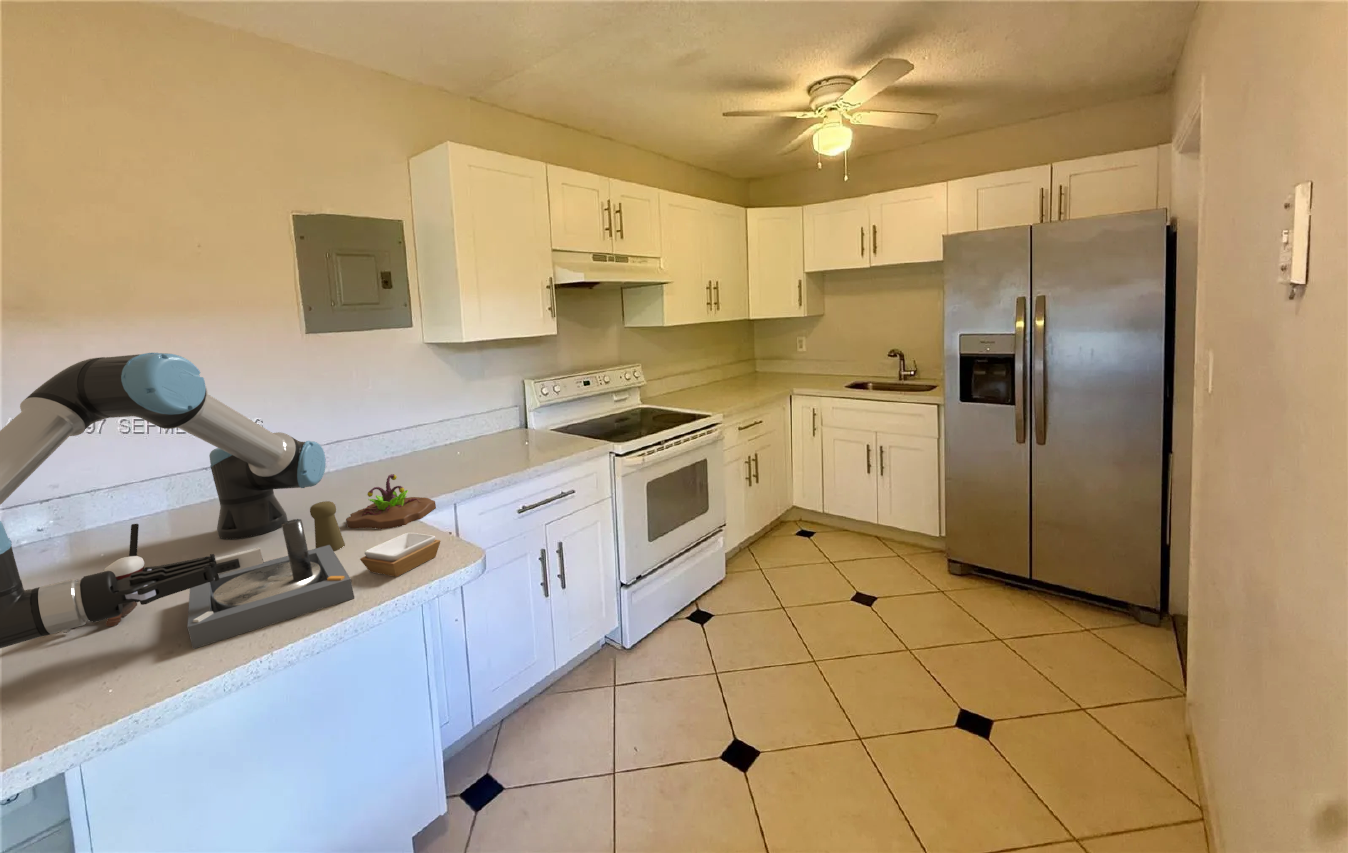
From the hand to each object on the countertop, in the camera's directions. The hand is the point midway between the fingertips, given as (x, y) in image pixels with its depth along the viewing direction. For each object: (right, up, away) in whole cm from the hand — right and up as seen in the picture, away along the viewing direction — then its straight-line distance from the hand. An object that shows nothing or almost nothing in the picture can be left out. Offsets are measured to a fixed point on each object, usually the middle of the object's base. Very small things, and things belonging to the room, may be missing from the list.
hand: (261, 555), depth 110 cm
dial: (-2, -8, +5) cm, 9 cm away
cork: (-5, -5, +30) cm, 31 cm away
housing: (-2, -9, +6) cm, 11 cm away
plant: (+1, -1, +51) cm, 51 cm away
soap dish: (+18, -6, +17) cm, 26 cm away
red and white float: (-39, -10, +17) cm, 44 cm away
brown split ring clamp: (-31, -13, +1) cm, 33 cm away
